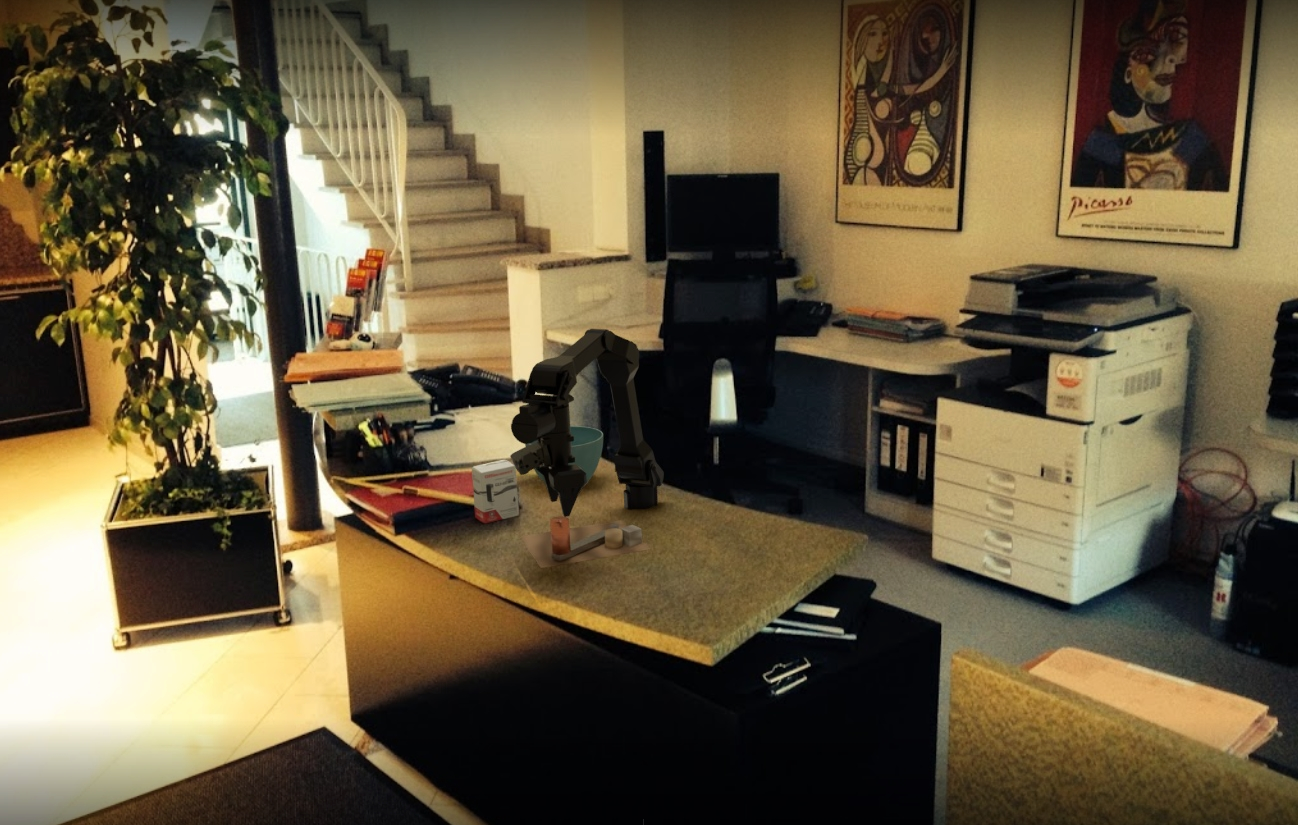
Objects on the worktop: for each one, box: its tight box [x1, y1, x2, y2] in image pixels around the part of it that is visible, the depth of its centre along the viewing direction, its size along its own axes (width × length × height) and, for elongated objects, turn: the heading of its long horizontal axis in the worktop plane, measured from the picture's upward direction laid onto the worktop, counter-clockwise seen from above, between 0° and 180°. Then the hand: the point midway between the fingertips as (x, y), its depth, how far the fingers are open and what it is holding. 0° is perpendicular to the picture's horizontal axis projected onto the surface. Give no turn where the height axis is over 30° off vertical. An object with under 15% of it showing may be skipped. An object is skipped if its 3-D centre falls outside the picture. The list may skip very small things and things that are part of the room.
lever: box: [549, 515, 606, 561], centre depth 218 cm, size 15×4×8 cm, turn 138°
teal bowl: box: [524, 425, 604, 489], centre depth 259 cm, size 18×18×12 cm
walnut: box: [605, 528, 623, 549], centre depth 219 cm, size 4×4×3 cm
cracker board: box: [519, 519, 651, 569], centre depth 222 cm, size 22×18×4 cm
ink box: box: [471, 459, 520, 524], centre depth 241 cm, size 8×5×12 cm, turn 123°
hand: (560, 508), depth 211 cm, fingers open, 9 cm apart
